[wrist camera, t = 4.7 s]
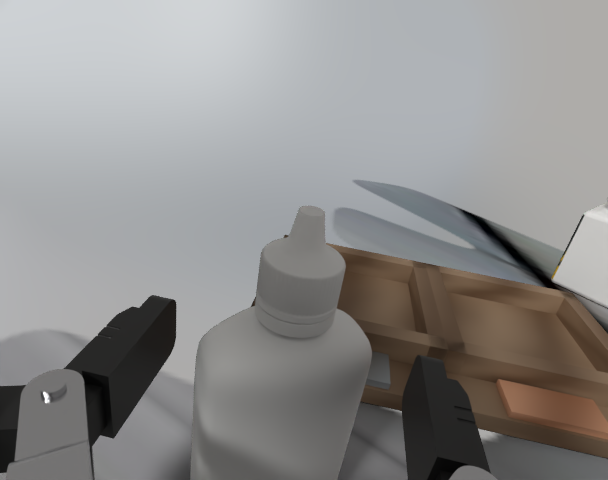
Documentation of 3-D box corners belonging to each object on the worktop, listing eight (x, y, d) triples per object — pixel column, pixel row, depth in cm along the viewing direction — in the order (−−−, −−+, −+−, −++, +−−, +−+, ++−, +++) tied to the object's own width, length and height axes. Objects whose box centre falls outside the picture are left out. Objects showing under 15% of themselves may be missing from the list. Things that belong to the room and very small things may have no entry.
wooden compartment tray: (233, 372, 21) (237, 335, 20) (286, 248, 34) (290, 222, 33) (667, 471, 19) (696, 437, 18) (545, 302, 33) (557, 276, 32)
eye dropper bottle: (212, 427, 18) (231, 170, 13) (335, 452, 18) (406, 202, 12) (173, 533, 14) (177, 223, 9) (331, 566, 14) (431, 270, 9)
